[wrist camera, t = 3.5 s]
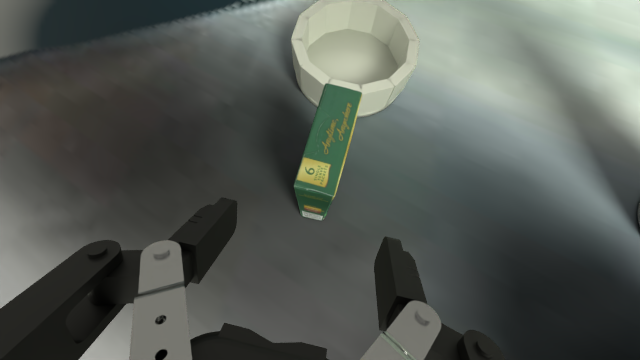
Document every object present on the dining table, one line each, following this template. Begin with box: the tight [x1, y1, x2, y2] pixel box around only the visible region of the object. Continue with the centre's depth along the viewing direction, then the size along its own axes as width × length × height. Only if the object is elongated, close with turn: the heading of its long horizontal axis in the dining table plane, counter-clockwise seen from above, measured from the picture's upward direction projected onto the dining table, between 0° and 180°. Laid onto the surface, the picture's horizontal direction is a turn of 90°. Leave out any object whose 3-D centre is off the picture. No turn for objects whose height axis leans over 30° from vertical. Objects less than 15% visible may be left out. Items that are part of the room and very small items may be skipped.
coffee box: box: [294, 83, 362, 221], centre depth 22 cm, size 8×3×13 cm, turn 164°
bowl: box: [291, 0, 420, 118], centre depth 31 cm, size 15×15×5 cm
